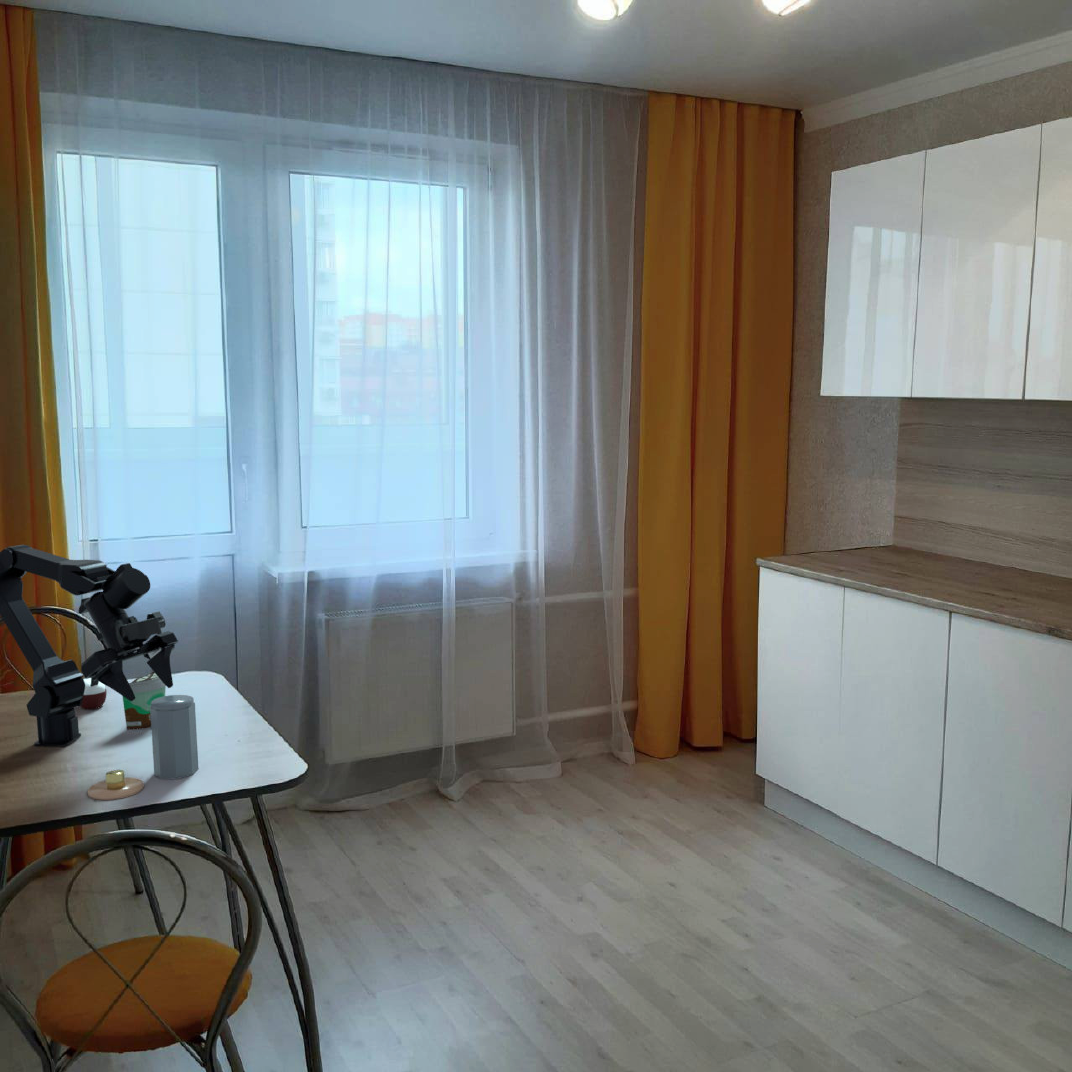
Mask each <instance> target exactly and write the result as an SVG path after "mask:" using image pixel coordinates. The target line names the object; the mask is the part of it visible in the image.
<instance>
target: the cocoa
mask: <svg viewBox="0 0 1072 1072" xmlns="http://www.w3.org/2000/svg"><path fill="white" fill-rule="evenodd" d="M94 677H95V676H94ZM92 678H93V677H91V678H88V679H86V678H85V677H84V678H83V680H84V682H85V691H84V695H83V700H82V704H81V706H80V708H81V709H83V710H90V711H91V710H96V709H99V708H101V707H102V706H103V705H104V704H105V703H106V699H107V689H106V685H104V684H103V683H101V682H99V681H93V679H92Z"/></svg>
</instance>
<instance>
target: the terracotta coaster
mask: <svg viewBox="0 0 1072 1072" xmlns="http://www.w3.org/2000/svg"><path fill="white" fill-rule="evenodd" d="M144 785H145V782H144V781H143V779H140V778H137V777H129V776H128V777H127V776H126V777H125V787H124V788H122V789H119V790H108V789H107V787H106V779H104V780H102V781H98V782H97V783H94V784H92V785H91V786H90V787H88V789H87V796H88V797H90V798H91V799H94V800H101V801H111V800H113V801H114V800H118V799H123V798H128V797H131V796H134V795H136V794H138V793H140V792H141V791H142V790H143V789H144V788H145V786H144Z"/></svg>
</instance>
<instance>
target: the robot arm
mask: <svg viewBox="0 0 1072 1072" xmlns="http://www.w3.org/2000/svg"><path fill="white" fill-rule="evenodd" d="M27 573H31V574H33V575H36V576H39V577H42V578H46V579H49V580H53V581H55V582H56V583H58V584H59V587H60V588H61V589H63V590H64V591H66V592H67V593H69V594H71V595H74V596H81V595H85V594H86V595H87V594H89V593H94V594H92V595H90V597H85V598H81V600H80V605H79V607H78V610H77V611H78V614H80V615H81V614H86V613H88V614H89V616H90V618H91V620H92V621H93V623H94V625H95V627H96V628H97V630H98V632H99V633H98V634H97V635H96V636H95V637H96V639H97V641H99V642H100V641H104V643H105V645H106V647H107V648H105V649H101V650H97V651H95V652H93V654H91V655H90V656H89V657H88V658H86V659H85V660H84V661H83V662H82V663H81V667H80V670H79V668H78V666H77V664H76V662H75V661H74V660H73V659H68V660H65V661H64V660H63V659H61V658H60V657H59V656H58V655H57V653H56V651H55V650H54V648H53V647H52V645H51V644H50V642H49V640H48V638H47V637H46V636H45V633H44V632H43V629H42V628H41V627H40V625H39V623H38V621H37V620H36V618H35V617H34V615H33V614H32V612H31V610H30V609H29V607H28V605H27V603H26V601H25V600H24V598H23V591H24V583H23V580H22V578H24V576H25V575H26V574H27ZM150 589H151V581H150V579H149V577H148V576H147V575H146V574H145V573H144V572H142V571H141V570H140V569H137V568H134V567H133V566H132V564H131V563H130V562H127V563H122V564H120V565H118V567H117V568H116V570H113V569H112V568H110V567H108V565H107V564H106V563H105V562H104V561H102V560H99V559H98V560H97V559H96V560H95V559H70V558H66V557H62V556H59V555H56V554H53V553H49V552H47V551H43V550H40V549H36V548H32V547H31V546H30V545H26V544H20V545H13V546H7V547H5V548H3V549H2V550H1V551H0V617H1V619H2V620H3V623H4V624H5V626H6V627H7V630H8V631H9V632H10V634H11V635H12V637H13V639H14V641H15V643H16V644H17V646H18V648H19V649H20V651H21V652H22V655H23V656H24V658H25V660H26V661H27V663H28V665H29V666H30V667H31V669H32V673H33V674H32V676H33V677H32V689H33V691H34V694H33V695H32V697H31V698H30V699H29V701H28V702H27V704H26V708H27V711H28V715H29V716H31V717H36V726H37V727H36V728H37V729H36V730H37V739H38V740H37V741H35V742H34V743H33V746H36V747H66V746H68V745H70V744H71V743H73V742H74V741H76V740H77V739H79V738H80V737H81V736H82V733H80V730H79V729H80V728H79V717H78V716H77V715H76V708H79V707H80V706H81V704H82V700H83V695H84V691H85V682H84V680H83V679H85V678H86V679H88V678H91V677H93V678H92V679H93V681H99V682H101V683H103V684H104V685H105V687H108V688H110V689H111V690H113V691H114V692H117V693H118V694H119V695H121V696H122V697H123V696H124V697H125V698H127V699H128V700H129V701H133V700H135V695H134V693H133V690H132V688H131V686H130V685H129V683H130V682H129V681H128V679H127V677H126V675H125V672H124V670H123V669H124V667H123V661H127V660H130V659H134V658H137V657H141V656H143V657H144V658H146V659H148V660H147V661H146V664H147V665H148V666H149V667H150V669H151V671H152V670H153V671H154V672H155V674H156V675H157V676H158V677H159V678H160V680H161V681H162V682H163V683H164V684H165V685H166V687H167V688H168V689H170V688H173V686H174V683H173V682H174V681H173V676H172V668H171V660H170V659H171V653H172V651H173V650H174V649H175V648H176V644H178V643H179V640H178V638H177V637H176V635H175V633H174V632H173V631H169V630H168V631H165V632H162V629H163V628H165V627H166V624H167V623H166V619H165V618H164V616H163V614H162V613H161V611H156V612H152V613H148V614H147V615H146V619H144V620H140V621H139V620H138V619H137V618H136V616H134V615H132V616H128V615H129V614H127V611H126V610H127V609H130V608H131V607H133V605H134V604H136V603H137V602H138V601H139V600H140V599H141V598H142V597H144V596H145V595H146V594H147V593H148V592H149V591H150ZM151 636H152V637H151ZM144 642H145V643H144ZM94 676H95V677H94ZM83 677H84V678H83ZM80 708H81V707H80Z"/></svg>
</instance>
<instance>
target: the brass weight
mask: <svg viewBox="0 0 1072 1072" xmlns="http://www.w3.org/2000/svg"><path fill="white" fill-rule="evenodd" d="M125 775H126V774H125V771H124V770H122V769H113V770H110V771H106V773H105V780H106V787H107V789H108V790H119V789H122V788H124V787H125Z"/></svg>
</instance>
